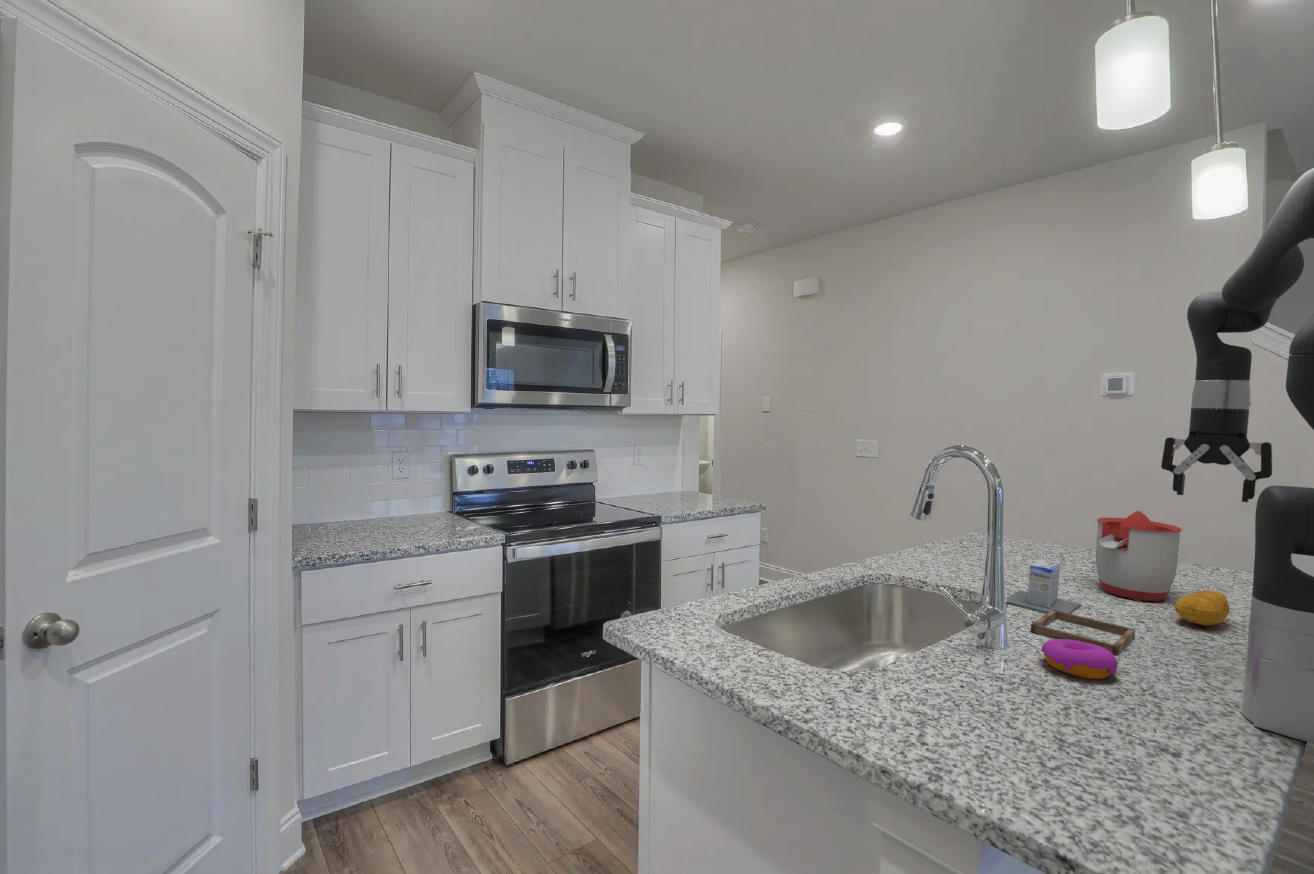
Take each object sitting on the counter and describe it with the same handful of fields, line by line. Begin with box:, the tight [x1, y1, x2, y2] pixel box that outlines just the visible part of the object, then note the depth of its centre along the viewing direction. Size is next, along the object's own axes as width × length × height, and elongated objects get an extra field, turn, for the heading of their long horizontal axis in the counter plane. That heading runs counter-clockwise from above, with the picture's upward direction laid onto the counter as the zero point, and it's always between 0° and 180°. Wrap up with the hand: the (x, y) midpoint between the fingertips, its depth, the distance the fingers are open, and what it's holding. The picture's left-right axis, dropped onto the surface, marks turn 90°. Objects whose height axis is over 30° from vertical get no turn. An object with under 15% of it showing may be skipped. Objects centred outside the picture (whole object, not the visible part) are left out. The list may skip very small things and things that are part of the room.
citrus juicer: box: [1095, 510, 1183, 602], centre depth 142 cm, size 16×17×20 cm
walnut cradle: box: [1030, 610, 1136, 656], centre depth 116 cm, size 14×14×2 cm
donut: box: [1041, 638, 1119, 680], centre depth 100 cm, size 10×10×4 cm
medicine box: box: [1027, 558, 1061, 608], centre depth 133 cm, size 8×4×9 cm, turn 137°
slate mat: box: [1006, 589, 1082, 615], centre depth 133 cm, size 12×12×1 cm
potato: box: [1173, 589, 1230, 627], centre depth 124 cm, size 8×14×7 cm, turn 123°
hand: (1211, 498), depth 107 cm, fingers open, 8 cm apart
